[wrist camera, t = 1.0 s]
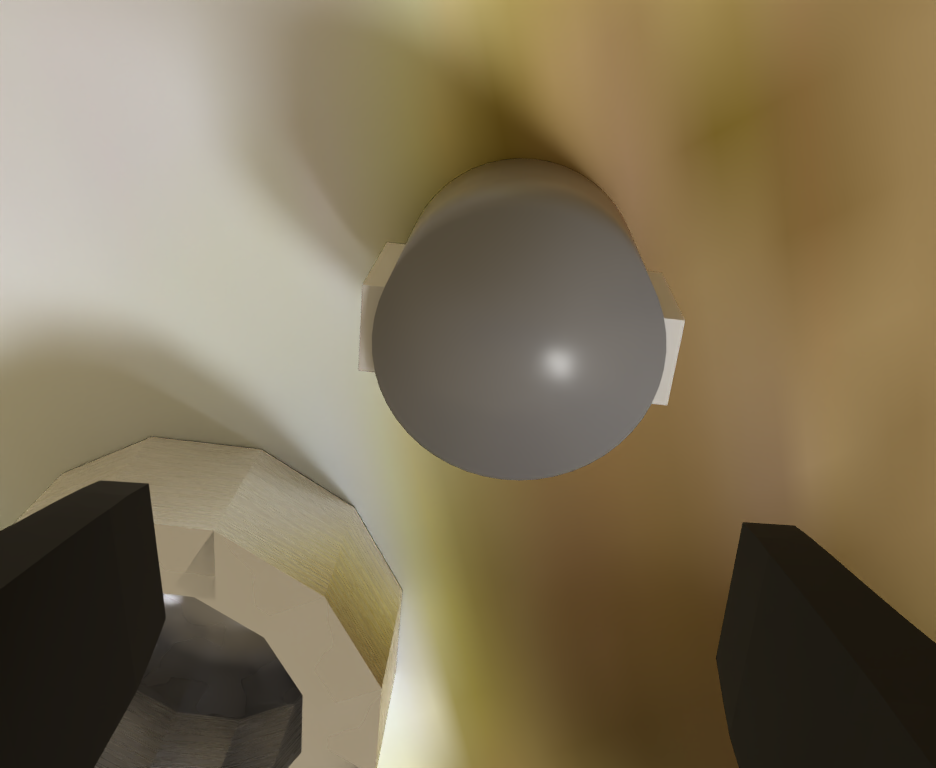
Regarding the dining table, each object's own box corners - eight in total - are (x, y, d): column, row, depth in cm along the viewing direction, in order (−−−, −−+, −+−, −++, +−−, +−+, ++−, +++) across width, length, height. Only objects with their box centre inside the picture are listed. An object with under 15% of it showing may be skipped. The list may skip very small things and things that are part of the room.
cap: (667, 173, 18) (709, 226, 14) (626, 393, 20) (652, 496, 16) (401, 144, 18) (364, 188, 14) (387, 366, 20) (351, 461, 16)
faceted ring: (411, 466, 21) (391, 551, 18) (387, 769, 25) (367, 881, 22) (2, 419, 21) (-91, 494, 18) (44, 727, 25) (-25, 833, 22)
